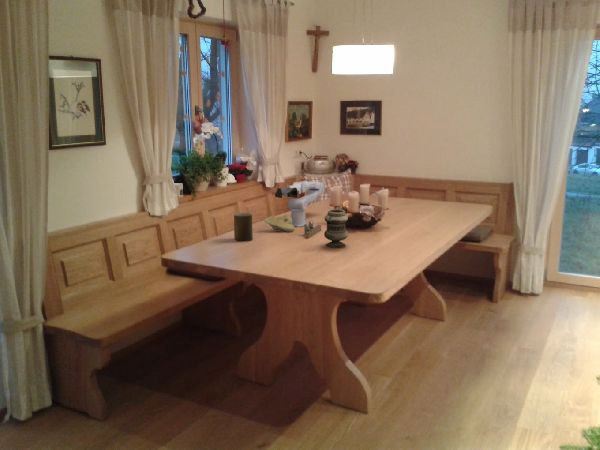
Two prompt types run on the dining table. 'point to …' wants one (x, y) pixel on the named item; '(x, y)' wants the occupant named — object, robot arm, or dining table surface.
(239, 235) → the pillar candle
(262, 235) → the dining table surface
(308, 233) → the brown piece
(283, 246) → the dining table surface
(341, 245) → the apothecary jar
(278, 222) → the cheese
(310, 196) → the robot arm
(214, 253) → the dining table surface
